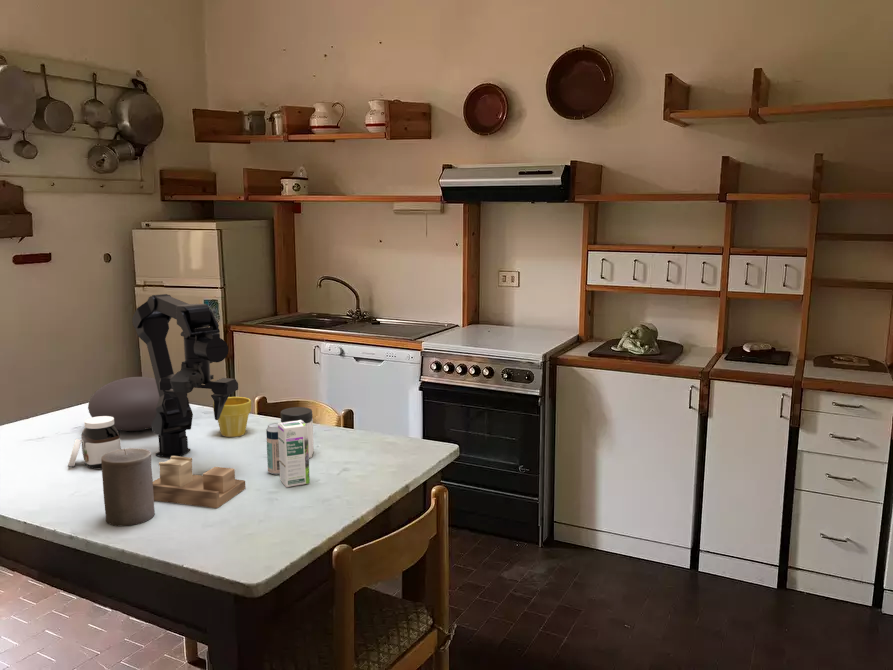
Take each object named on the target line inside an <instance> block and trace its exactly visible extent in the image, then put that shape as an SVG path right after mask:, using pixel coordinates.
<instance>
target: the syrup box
mask: <svg viewBox="0 0 893 670" xmlns="http://www.w3.org/2000/svg"><path fill="white" fill-rule="evenodd" d="M277 423H278V441H279V465H280V474H279V479H280V481H281V483H282V484H283V485H284V486H285V487H286V488H290V487H295V486H302V485H309V484H311V483H310V480H311V478H310V458H309V448H308V426H307V424H306V423H305V422H304V421H302V420H298V421H290V422H283V423H281V422H277Z"/></svg>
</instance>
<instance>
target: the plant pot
mask: <svg viewBox="0 0 893 670" xmlns="http://www.w3.org/2000/svg"><path fill="white" fill-rule="evenodd" d="M212 406H213V408H212V409H213V410H214V401H213V403H212ZM251 411H252V400H251V399H250V398H249V397H244V396H229V397H228V399H227V400H226V402H225V405H224V407H223V410H222V412H221V415H220V417H219V419H218V420H217V423H218V427H219V432H220V434H221V436H223V437H226V438H236V437H241V436H243V435H245V434H246V430H247V425H248V420H249V414H250V413H251Z"/></svg>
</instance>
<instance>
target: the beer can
mask: <svg viewBox="0 0 893 670" xmlns="http://www.w3.org/2000/svg"><path fill="white" fill-rule="evenodd" d="M278 423H279V422H273V423H269V424H268V425H267V427H266V429H265V430H266V431H265V432H266V451H267V452H266V453H267V454H266V456H267V457H266V459H267V472H268V473H269V474H272V475H276V476H277V475H280V465H279V441H278Z"/></svg>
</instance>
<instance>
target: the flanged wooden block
mask: <svg viewBox="0 0 893 670" xmlns="http://www.w3.org/2000/svg"><path fill="white" fill-rule="evenodd" d="M169 458H170V459H168V460H166V461H159V462H158V466H159V467H158V468H159V478H160V483H161V485H169V486H177V487H183V486H185V485H186V484H188V483H190V482H191V481H193V475H194V473H193V463H192V462H193V457H189V456H171V457H169Z"/></svg>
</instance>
